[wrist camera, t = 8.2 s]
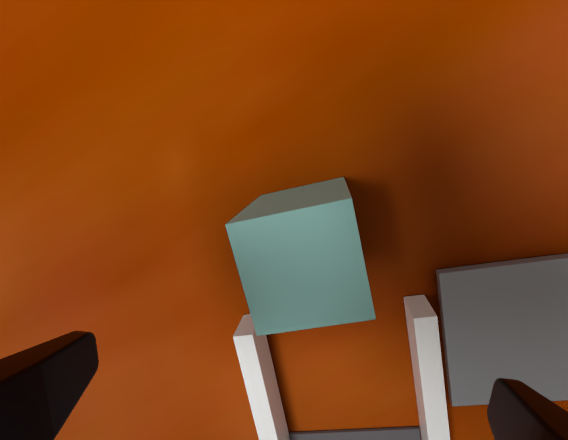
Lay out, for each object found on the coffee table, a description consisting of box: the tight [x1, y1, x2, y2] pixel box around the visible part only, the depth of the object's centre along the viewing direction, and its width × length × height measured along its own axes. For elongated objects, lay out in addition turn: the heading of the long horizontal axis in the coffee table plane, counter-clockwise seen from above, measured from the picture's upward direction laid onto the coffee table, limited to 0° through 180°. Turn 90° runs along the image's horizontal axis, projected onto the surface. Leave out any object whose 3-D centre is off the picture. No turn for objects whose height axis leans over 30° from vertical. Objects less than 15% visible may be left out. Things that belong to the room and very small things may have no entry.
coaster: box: [436, 253, 568, 406], centre depth 19 cm, size 9×9×1 cm
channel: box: [233, 295, 450, 440], centre depth 20 cm, size 15×11×4 cm
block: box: [225, 177, 376, 336], centre depth 16 cm, size 5×5×7 cm
